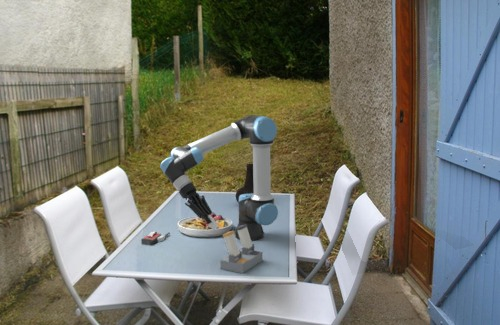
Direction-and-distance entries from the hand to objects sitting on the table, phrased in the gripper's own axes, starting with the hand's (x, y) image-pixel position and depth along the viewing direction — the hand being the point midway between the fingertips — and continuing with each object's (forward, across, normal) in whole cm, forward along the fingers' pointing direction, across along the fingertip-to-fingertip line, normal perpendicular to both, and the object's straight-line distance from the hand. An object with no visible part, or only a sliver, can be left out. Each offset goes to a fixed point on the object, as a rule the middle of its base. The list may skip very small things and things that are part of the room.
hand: (216, 228), depth 235 cm
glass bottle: (-18, -110, -41) cm, 119 cm away
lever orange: (+15, -1, -1) cm, 15 cm away
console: (+19, -7, -5) cm, 21 cm away
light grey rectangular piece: (+15, -13, -1) cm, 20 cm away
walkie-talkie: (-21, -18, -46) cm, 54 cm away
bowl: (-12, -45, -36) cm, 59 cm away
